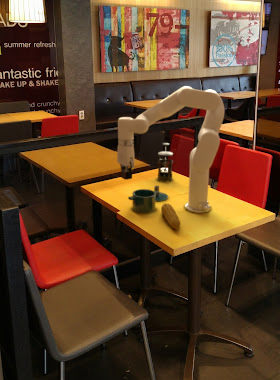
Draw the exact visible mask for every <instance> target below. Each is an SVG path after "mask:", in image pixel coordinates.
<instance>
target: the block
mask: <svg viewBox="0 0 280 380" xmlns="http://www.w3.org/2000/svg"><path fill="white" fill-rule="evenodd" d="M126 172H127V169H124V170H121V169H120V175H121V176H120V178H121V179H123V180H125V181H126V180H127V179H126Z"/></svg>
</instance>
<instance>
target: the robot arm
mask: <svg viewBox="0 0 280 380" xmlns="http://www.w3.org/2000/svg"><path fill="white" fill-rule="evenodd" d="M185 107H187V108H192V109H200V110H205V111H206V113H205V116H204V121H203V123H202V125H201V128H200V130H199V132H198V135H197V141H198V143H197V145H196V147H194V148H193V149H192V150H191V151H190V153H189V173H188V174H189V178H188V197H187V198H188V199H187V200H188V201H187V202H186V203H185V205H184V208H185V209H186V210H187V211H189V212H191V213H196V214H204V213H207V212H209V211H210V210H211V209H212V208H213V207H212V206H211V205H210V202H209V200H208V198H209V181H210V180H209V179H210V168H212V165H213V163H214V160H215V157H216V155H217V153H218V150H219V146H220V143H221V139H220V136H219V133H220V130H221V127H222V125H223V121H224V117H225V105H224V102H223V99H222V97H221V95H219V93H218V92H217V91H216V90H213V89H206V90H203V89H202V90H201V89H195V88H192V86H189V85H188V86H187V85H184V86H182V87H180V88H179V89H177V90H175V91H174V92H172V93H171V94H169V95H168V96H167V97H165V98H164V99H161V100H160V101H159V102H157V103H156V104H155V105H152V106H150V107H149V108H148V109H146V110H145V111H143V112H142V113H141V114H138V116H136V118H132V117H131V116H122V117H119V118H118V120H117V139H118V140H117V141H118V145H117V151H116V152H117V153H116V161H117V163H118V164H119V166H120V171H121V170H124V169H127V172H126V180H132V179H133V171H134V169H135V164H136V163H135V160H136V159H135V147H134V146H135V144H134V143H135V142H134V140H135V139H134V138H135V137H134V134H145V133H147V131H148V130H149V129H150V128H149V127H150V126H152V125H153V124H154V123H156V122H158V121H160V120H162V119H166V118H169V117H172V116H173V115H174V114H176V113H177V112H179V111H181V110H183V109H184V108H185Z"/></svg>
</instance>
